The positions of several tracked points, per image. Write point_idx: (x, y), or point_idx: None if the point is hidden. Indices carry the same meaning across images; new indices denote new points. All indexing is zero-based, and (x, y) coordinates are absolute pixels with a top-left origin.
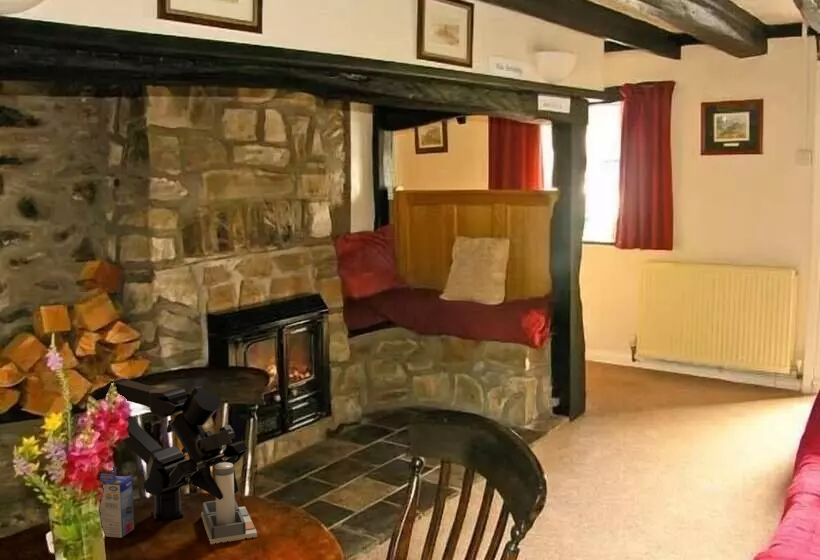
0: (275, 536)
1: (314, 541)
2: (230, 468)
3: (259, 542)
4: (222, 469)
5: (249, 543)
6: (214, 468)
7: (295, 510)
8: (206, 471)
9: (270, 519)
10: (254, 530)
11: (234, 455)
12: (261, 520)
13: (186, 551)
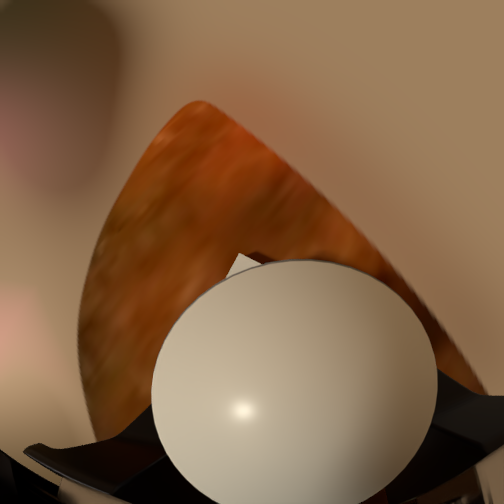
0: (207, 222)
1: (176, 145)
2: (278, 265)
3: (260, 223)
4: (400, 297)
5: (283, 238)
6: (418, 435)
7: (81, 309)
8: (495, 410)
9: (143, 322)
10: (235, 270)
11: (48, 500)
12: (161, 338)
13: (428, 325)
